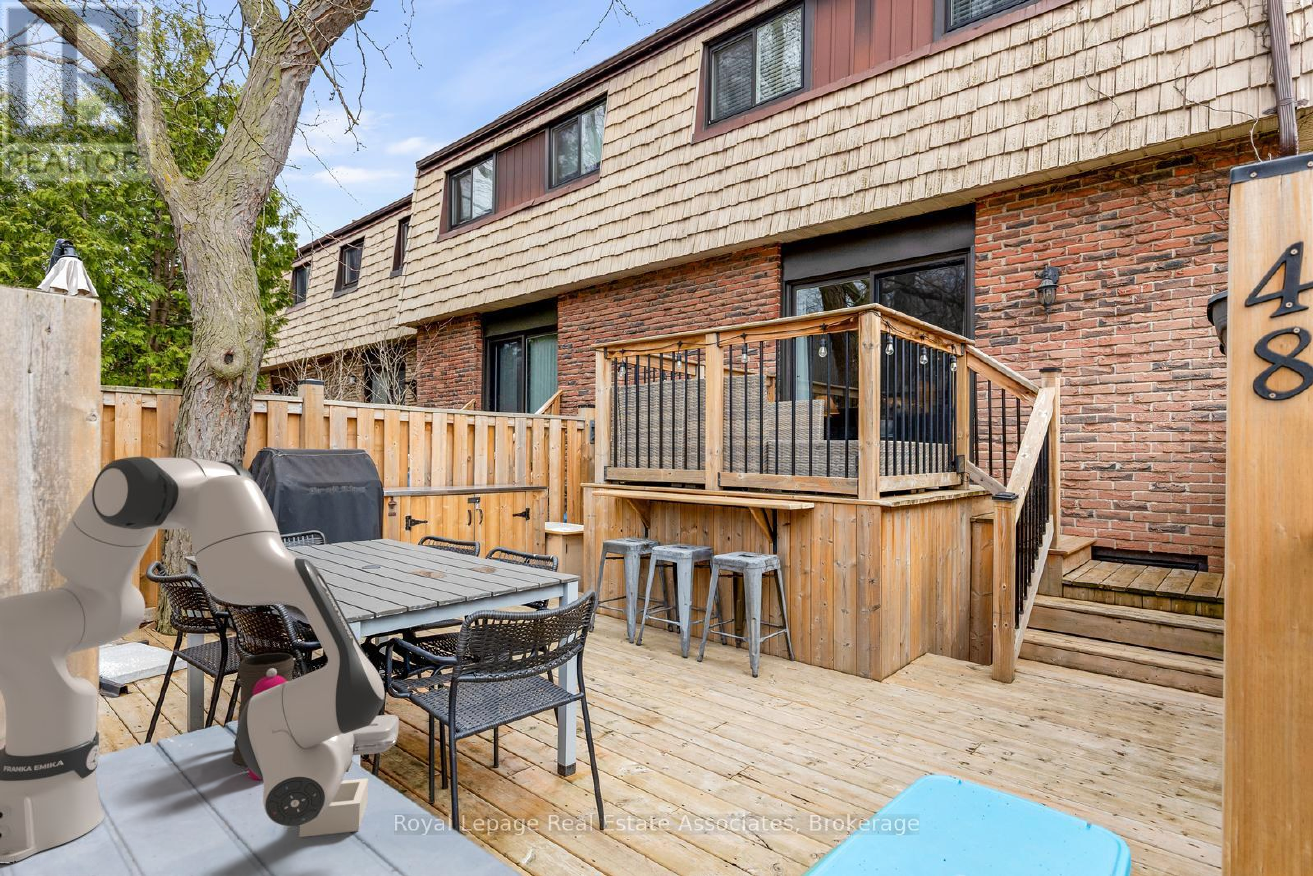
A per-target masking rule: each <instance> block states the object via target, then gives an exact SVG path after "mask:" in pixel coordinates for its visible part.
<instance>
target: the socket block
mask: <svg viewBox="0 0 1313 876" xmlns="http://www.w3.org/2000/svg"><path fill="white" fill-rule="evenodd" d="M368 794H369V778H368V777H366V778H357V779H344V780H342V782H341V785H340V787H339V789H338V791H337V793H336V795H335V797H334V799H333V800H332V802H331V803H330V805H329V806H328V807H327V809H326V810H325V811H324V812H323V813H322V814H321V815H319V816H318V817H317V818H316V819H314V820H312V821H311V822H309V823H306V824H303V825H299V838H303V837H314V836H321V835H322V836H323V835H331V834H333V835H334V834H341V833H350V832H358V831H357V830H359V831H360V829H361V825H362V822H363V818H364V816H363V815H365V813H366V810H367V809H366V808H367V806H368V796H369V795H368Z"/></svg>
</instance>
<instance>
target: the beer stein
mask: <svg viewBox="0 0 1313 876" xmlns="http://www.w3.org/2000/svg"><path fill="white" fill-rule="evenodd" d="M238 666H239V668H238V669H237V673H238V675H239V677H240V703H239V704H240V705H239V707H238V716H237V724H238V723H239V720H240V717H241V714H242V711H243V709H244V707H245V705H246V704H247V702H248V701H249V699H250V698H251V697H252V696H253V690H254V686H255V685H256V683H257V682H258V681H259V680H261V679H262V678H265V677H267V675H266V673H267V671H268V670H269V669H271V668H274V669H276V671H277V674H276V676H281V677H283V678H285V679H286V681H291V680H292V674H293V670H294V666H295V662H294V656H293V655H292V654H290V653H286V652H285V653H284V652H273V653H271V652H270V653H262V654H258V655H257V654H256V655H253V656H250V657H246V658H244V659H241V661H240V662H239V665H238ZM233 744H234V750H233V754H232V758H231V759H232V762H233V763H234V764H236V763H237V765H238V764H239V766H240V765H241V766H244V765H246V763H245V761H244V760H243V758H242V755H241V753H240V750H239V746H238V742H237V735H236V736H235V740H234V742H233Z"/></svg>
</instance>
